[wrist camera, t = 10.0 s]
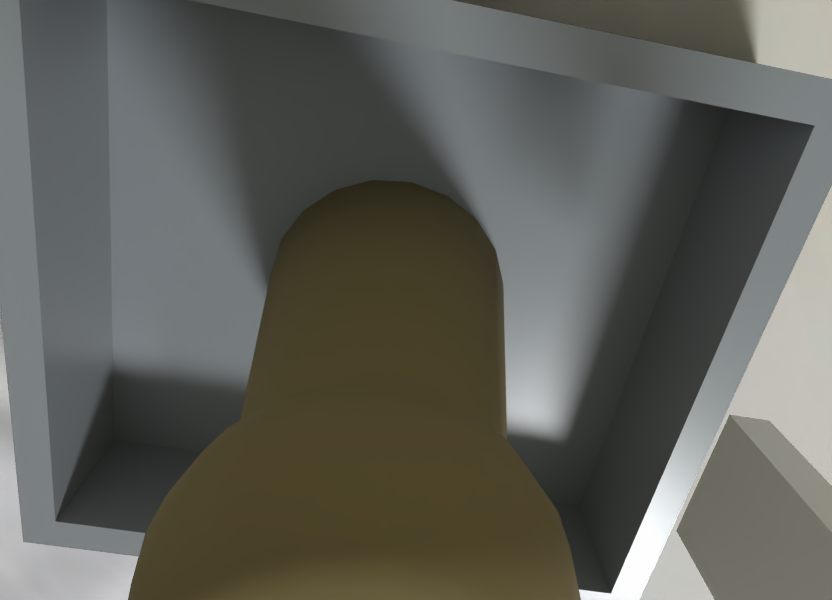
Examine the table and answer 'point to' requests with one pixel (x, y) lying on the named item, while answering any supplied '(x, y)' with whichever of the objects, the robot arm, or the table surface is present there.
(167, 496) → the cork
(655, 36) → the table surface
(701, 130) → the tray
